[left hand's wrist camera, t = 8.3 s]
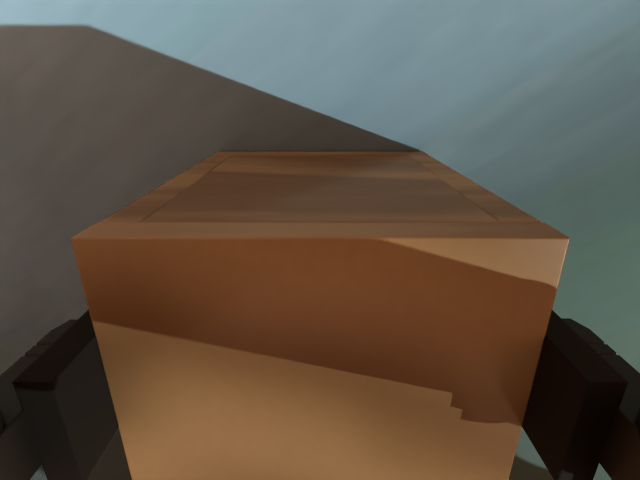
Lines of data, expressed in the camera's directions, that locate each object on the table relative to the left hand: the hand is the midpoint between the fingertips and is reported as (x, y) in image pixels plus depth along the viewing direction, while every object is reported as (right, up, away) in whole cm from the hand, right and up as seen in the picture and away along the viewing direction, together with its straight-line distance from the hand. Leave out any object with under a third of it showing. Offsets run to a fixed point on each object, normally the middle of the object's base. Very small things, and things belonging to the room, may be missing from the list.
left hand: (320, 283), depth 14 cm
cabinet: (0, -4, +9) cm, 10 cm away
